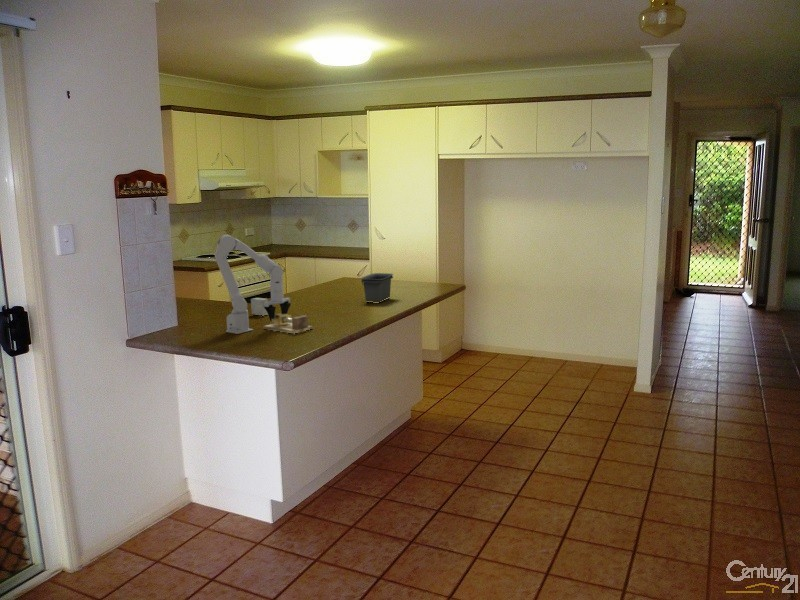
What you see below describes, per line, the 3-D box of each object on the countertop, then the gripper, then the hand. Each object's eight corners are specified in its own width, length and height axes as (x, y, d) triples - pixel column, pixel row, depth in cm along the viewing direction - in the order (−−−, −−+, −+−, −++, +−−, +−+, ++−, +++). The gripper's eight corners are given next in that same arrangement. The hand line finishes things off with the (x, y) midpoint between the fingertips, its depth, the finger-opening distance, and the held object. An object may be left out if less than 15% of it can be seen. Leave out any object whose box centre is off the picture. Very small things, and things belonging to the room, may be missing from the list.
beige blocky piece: (294, 334, 298) (293, 319, 297) (263, 329, 310) (262, 315, 308) (313, 329, 307) (312, 315, 306) (282, 324, 319) (281, 310, 318)
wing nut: (275, 327, 305) (274, 316, 304) (270, 326, 307) (270, 315, 306) (292, 322, 314) (292, 312, 313) (288, 322, 316) (287, 311, 315)
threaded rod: (296, 324, 303) (296, 320, 303) (272, 320, 312) (272, 316, 312) (299, 323, 305) (299, 319, 305) (275, 319, 314) (275, 315, 314)
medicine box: (269, 315, 342) (268, 298, 340) (263, 317, 338) (262, 300, 337) (257, 314, 346) (256, 297, 344) (251, 315, 342) (250, 298, 341)
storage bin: (382, 304, 366) (381, 278, 364) (355, 303, 371) (355, 277, 369) (395, 298, 386) (395, 273, 383) (370, 297, 391) (370, 272, 388)
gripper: (271, 293, 301) (272, 323, 303) (294, 289, 312) (295, 317, 315) (260, 292, 305) (262, 321, 307) (283, 287, 317) (284, 316, 319)
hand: (278, 319), depth 311 cm, fingers open, 7 cm apart
